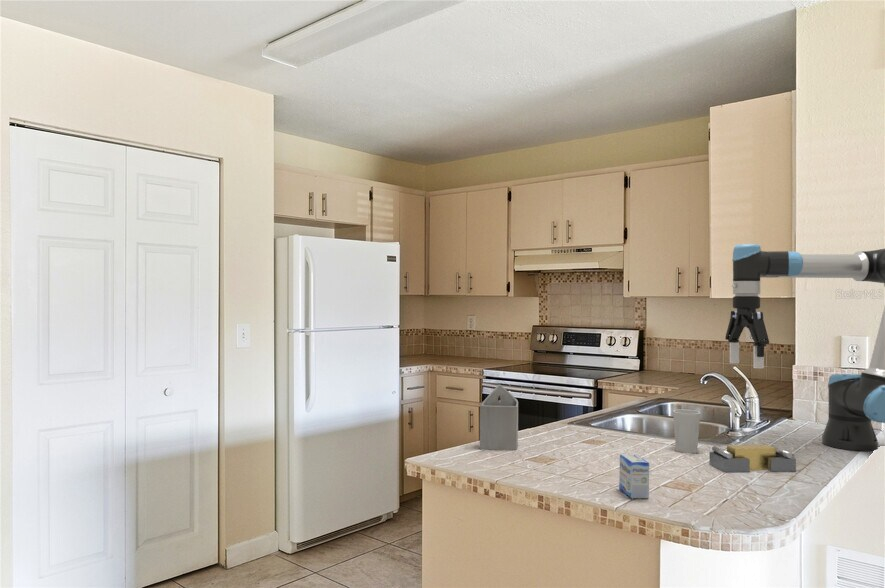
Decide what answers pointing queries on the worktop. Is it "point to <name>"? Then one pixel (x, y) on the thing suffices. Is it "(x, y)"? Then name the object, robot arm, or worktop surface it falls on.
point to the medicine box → (634, 476)
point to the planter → (499, 421)
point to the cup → (686, 430)
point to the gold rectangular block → (753, 454)
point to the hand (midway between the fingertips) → (746, 365)
